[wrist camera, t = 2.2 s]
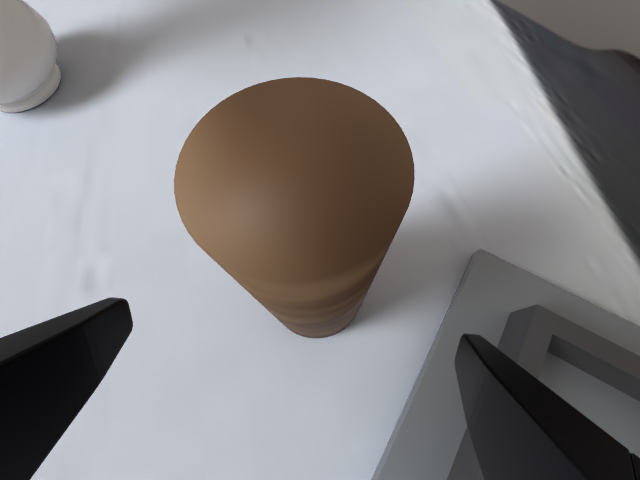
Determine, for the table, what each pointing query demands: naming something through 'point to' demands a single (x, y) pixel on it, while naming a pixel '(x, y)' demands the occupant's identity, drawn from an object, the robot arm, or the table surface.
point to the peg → (297, 196)
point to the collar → (530, 353)
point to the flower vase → (25, 57)
